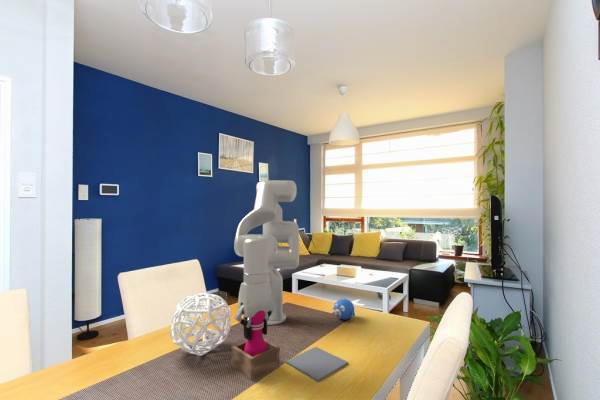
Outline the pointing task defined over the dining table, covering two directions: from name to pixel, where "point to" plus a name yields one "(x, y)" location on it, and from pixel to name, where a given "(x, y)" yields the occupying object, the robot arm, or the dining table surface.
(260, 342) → the pink bowling pin
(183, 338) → the decorative ball
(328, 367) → the mat
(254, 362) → the holder
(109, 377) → the dining table surface
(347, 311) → the blue mole toy
